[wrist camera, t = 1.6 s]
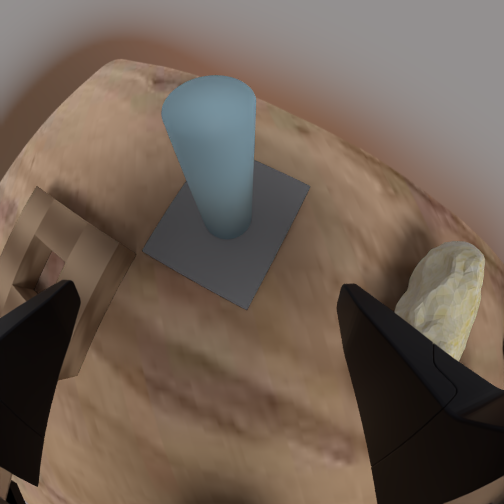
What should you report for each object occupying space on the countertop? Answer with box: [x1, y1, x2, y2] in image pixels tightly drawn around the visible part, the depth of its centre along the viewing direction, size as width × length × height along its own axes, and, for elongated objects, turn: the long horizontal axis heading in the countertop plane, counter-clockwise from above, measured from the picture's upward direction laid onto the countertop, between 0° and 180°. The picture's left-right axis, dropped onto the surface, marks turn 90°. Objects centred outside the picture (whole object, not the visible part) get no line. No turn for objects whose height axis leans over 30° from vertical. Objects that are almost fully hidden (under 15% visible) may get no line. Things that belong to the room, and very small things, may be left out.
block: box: [0, 186, 136, 380], centre depth 20 cm, size 13×13×4 cm
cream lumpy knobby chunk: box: [394, 241, 485, 361], centre depth 18 cm, size 15×7×15 cm
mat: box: [142, 160, 310, 310], centre depth 23 cm, size 12×10×1 cm
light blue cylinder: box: [162, 75, 256, 239], centre depth 16 cm, size 4×4×13 cm
